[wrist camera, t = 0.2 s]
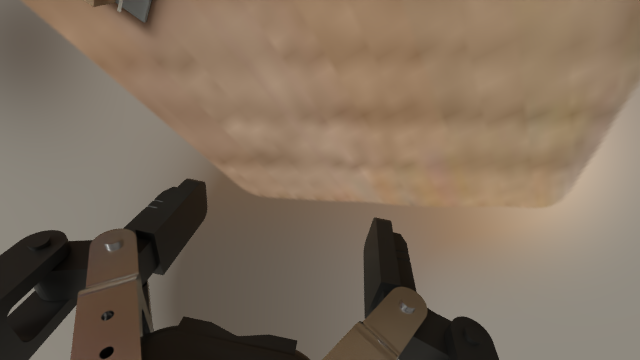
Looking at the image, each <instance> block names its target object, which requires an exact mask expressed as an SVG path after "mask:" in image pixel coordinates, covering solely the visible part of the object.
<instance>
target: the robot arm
mask: <svg viewBox="0 0 640 360" xmlns="http://www.w3.org/2000/svg"><path fill="white" fill-rule="evenodd" d="M206 213H207V196H206V185H205V182H202V181H198V180H193V179H186V180H184V181H183V182H182V183H181V184H180V185H179V186H178V187H172V188H170V189H168V190H165V191H163V192H162V193H161V194H160V195H159V196H157V197H156V198H155V200H154V201H152V202H151V203H150V204H149V205H148V207H146V208H145V209H144V210H143V211H141V212H140V213H139V214H138V215H137V216H136V217H135V218H134V219H133V220H132V221H131V222H130V223H129V224H128V225H126V226H125V227H124V228H123V229H113V230H110V231H107V232H104V233H102V234H100V235H99V236H97V237H96V238H95V239H94V240H90V241H89V240H88V241H68V239H67V237H66V235H65V234H64V233H63V232H61V231H55V230H48V231H42V232H38V233H35V234H32V235H30V236H27V237H25V238H24V239H22V240H20V241H19V242H18V243H16V244H15V245H14V246H12V247H11V248H10V249H8V250H7V251H5V252H4V253H3V254H1V255H0V360H29V359H30V357H31V356H32V355H33V354H34V353H35V352H36V351H37V349H38V348H39V347H40V346H41V345H42V344H43V343H44V341H45V340H46V339H47V338H48V337H49V335H51V333H52V332H53V331H54V330H55V329H56V328H57V327H58V325H59V324H60V323H61V322H62V321H63V319H64V318H65V317H66V316H67V315H68V314H69V313H70V312H71V310H72V309H73V308H74V307H75V306H76V305H77V307H76V316H75V324H74V333H73V341H72V350H71V358H70V360H310V359H309V358H308V357H307V356H305V355H304V354H302V353H301V352H299V351H297V350H296V344H297V340H292V339H287V338H283V337H277V336H273V335H254V336H236V335H234V334H232V333H230V332H228V331H226V330H225V329H223V328H221V327H219V326H217V325H215V324H214V323H212V322H207V321H203V320H198V319H193V318H189V317H183V319H182V320H181V322H180V324H179V325H178V326H171V327H166V328H163V329H159V330H157V331H154V328H153V322H152V312H151V302H150V292H149V283H148V278H149V277H150V276H151V275H152V273H155V274H160V275H164V274H165V272H166V271H167V270H168V268H169V267H170V265H171V264H172V263H173V261H174V260H175V259H176V257H177V256H178V254H179V253H180V252H181V250H182V249H183V248H184V246H185V245H186V244H187V242H188V241H189V239H190V238H191V237H192V235H193V234H194V233H195V231H196V230H197V229H198V227H199V226H200V225H201V223H202V222H203V220H204V219H205V216H206ZM33 287H34V289H35V291H34V292H33V293H32V294H31V295H30V296H29V297H28V298H27V299H26V300H25V301H24V302H23V303H22V304H21V305H20V306H18V307H17V308H16V309H15V310H14V311H13V312H12V313H11V314H10V315H9V316H8V317H7V315H8V313H9V311H10V309H11V308H12V307H13V306H14V305H15V304H16V303H17V302H18V301H19V300H20V299H21V298H22V297H24V296H25V295H26V294H27V293H28V292H29V291H30V290H31V289H32V288H33ZM364 302H365V320H364V321H363V322H361V321H359V322H358V323H357V324H355V325H354V326H353V328H352V329H351V330H350V331H349V332H348V333H347V334H346V335H345V336H344V337H343V338H342V339H341V340H340V341H339V343H337V345H336V346H335V347H334V348H333V349H332V350H331V351H330V352H329V353H328V354H327V355H326V356H325V357H324V358H323V359H322V360H398V359H399V360H499V358H498V355H497V352H496V350H495V347H494V344H493V341H492V339H491V337H490V335H489V334H488V332H487V331H486V330H485V329H484V328H483V327H482V326H481V325H480V324H479V323H477V322H476V321H474V320H472V319H470V318H467V317H457V318H455V319H454V320H453V321H450V320H448V319H446V318H444V317H442V316H440V315H438V314H436V313H434V312H433V311H431V310H430V309H428V308H427V306H426V303H425V301H424V300H423V298H422V297H421V296H420V295H419V294H418V293H417V292H416V288H415V283H414V278H413V273H412V268H411V263H410V258H409V254H408V248H407V243H406V242H405V240H404V239H403V237H402V236H401V234H398V233H393V230H392V223H391V221H390V220H385V219H380V218H374V219H373V221H372V224H371V227H370V230H369V233H368V236H367V239H366V242H365V246H364Z"/></svg>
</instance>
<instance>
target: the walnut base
mask: <svg viewBox="0 0 640 360" xmlns="http://www.w3.org/2000/svg"><path fill="white" fill-rule="evenodd" d="M84 1H85V2H87V3H88V4H90V5H91V6H93V7H96V6H100V5H105V4H110V3H115V2H116V0H84Z"/></svg>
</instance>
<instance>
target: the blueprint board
mask: <svg viewBox="0 0 640 360" xmlns="http://www.w3.org/2000/svg"><path fill="white" fill-rule="evenodd" d="M151 1H152V0H116V2H115V3H117V4H118V11H119V12H121V9H122V7H123V8H124V9H125V10H127V11H128V12H130V13H131V14H132V15H134V16H135V17H137V18H138V19H140V20H141V21H142V22H146V21H147V17H148V13H149V9H150V5H151Z"/></svg>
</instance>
